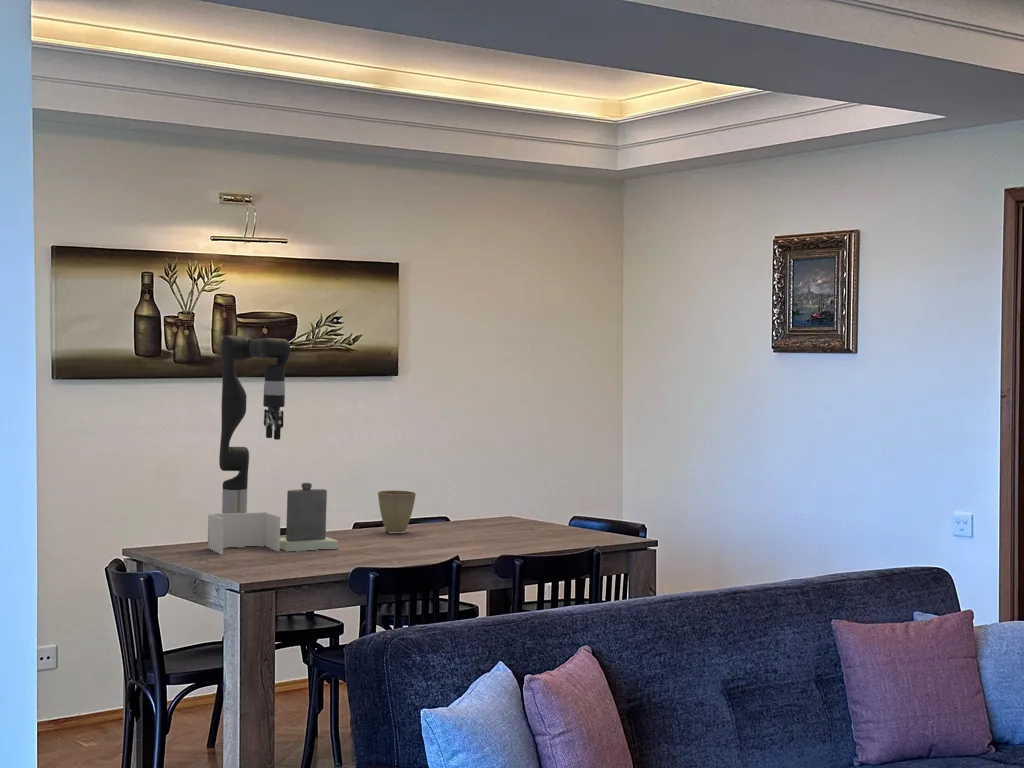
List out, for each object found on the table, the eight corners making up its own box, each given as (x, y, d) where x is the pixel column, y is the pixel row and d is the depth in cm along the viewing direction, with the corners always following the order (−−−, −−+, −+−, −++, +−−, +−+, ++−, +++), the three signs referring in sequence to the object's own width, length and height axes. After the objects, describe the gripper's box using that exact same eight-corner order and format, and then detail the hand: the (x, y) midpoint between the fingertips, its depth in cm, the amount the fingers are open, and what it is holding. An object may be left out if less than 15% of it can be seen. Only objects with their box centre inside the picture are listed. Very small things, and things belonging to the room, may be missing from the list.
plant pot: (370, 533, 480) (371, 492, 480) (385, 529, 495) (386, 489, 494) (406, 536, 476) (407, 495, 476) (420, 531, 490) (421, 491, 490)
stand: (273, 546, 438) (273, 538, 438) (323, 544, 448) (323, 535, 448) (286, 551, 426) (287, 543, 426) (338, 549, 436) (338, 540, 436)
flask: (320, 537, 444) (321, 481, 444) (328, 539, 439) (329, 483, 439) (282, 539, 435) (284, 483, 435) (290, 541, 430) (291, 484, 430)
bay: (207, 548, 429) (208, 514, 429) (265, 545, 439) (266, 512, 439) (219, 554, 416) (220, 518, 416) (279, 551, 427) (280, 516, 427)
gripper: (257, 393, 447) (256, 437, 447) (270, 394, 434) (269, 440, 434) (277, 393, 450) (276, 437, 451) (291, 394, 438) (289, 440, 438)
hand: (273, 438), depth 442 cm, fingers open, 8 cm apart
